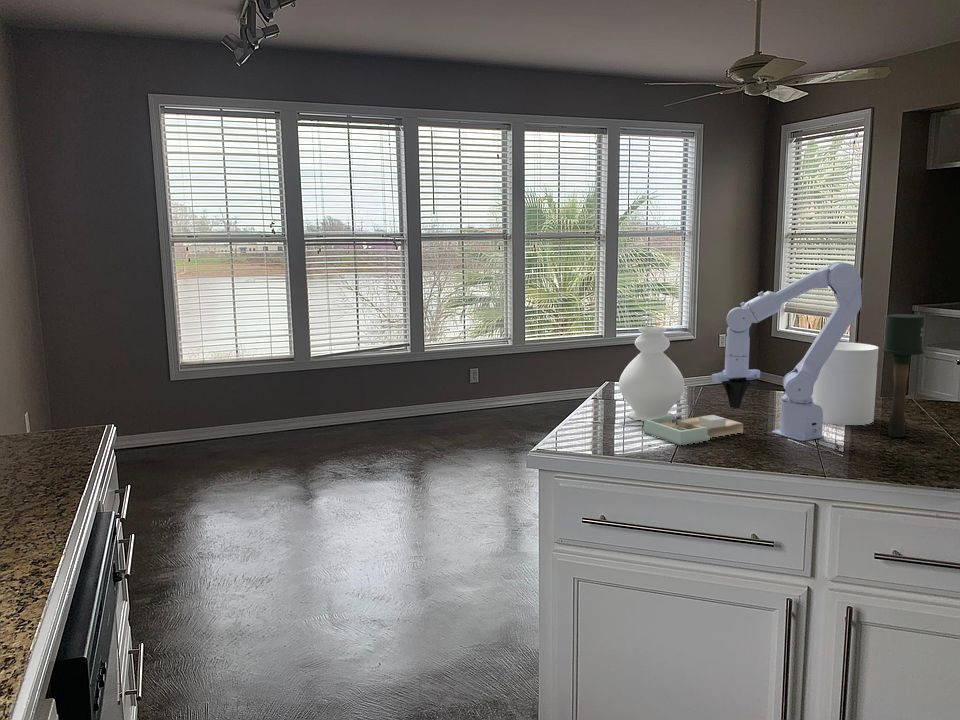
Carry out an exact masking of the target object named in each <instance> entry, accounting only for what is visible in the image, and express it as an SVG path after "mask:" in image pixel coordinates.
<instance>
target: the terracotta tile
mask: <svg viewBox="0 0 960 720" xmlns="http://www.w3.org/2000/svg"><path fill="white" fill-rule="evenodd" d="M659 424H662V425H665V426H668V427H671V428H674V429H678V426H677V424H674V423H672V424H671V423H668V422H664V423H659Z"/></svg>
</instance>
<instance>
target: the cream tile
mask: <svg viewBox="0 0 960 720" xmlns="http://www.w3.org/2000/svg"><path fill="white" fill-rule="evenodd" d="M698 417H699V425H702V426H706V427H709V428H717V427H723V426H725V425H726V419H727V418H725V417H721V416H718V415H716V414H709V415H702V417H701V416H698Z"/></svg>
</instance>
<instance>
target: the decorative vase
mask: <svg viewBox="0 0 960 720" xmlns="http://www.w3.org/2000/svg"><path fill="white" fill-rule="evenodd" d="M667 330H668V328H666V327H664V326H640V327H638V332H639V333H641V334H640V335H639V336H637V338H635V340H634V346H635V347H636V349H638V351H640V352H639V353H638V354H637V355H636V356H635V357H634V358H633V359H632V360H631V361H629V363H628V364H627V366H626V367H625V368H624V370H623V371H622V373H621V375H620V377H619V381H618V388H619V393H620V394H621V396H622V398H623V399H624V400H625V402H626V403H627V404H628V405H629V406H630V407H631V409H632V411H630V412H628V413H627V417H628V416H629V417H630V418H629V417H628V418H629V419H631V418H633V419H637V420H641V421H640V422H643V421H644V420H645V419H652V418H658V417H665V416H672V420H674V418H675V415H674V414H673V413H672V412H670V410H671V409H672V408H673V407H674V406H675V405H676V403H677V402H678V401H679V399H681V397H682V396H683V394H684V392H685V380H684V377H683V375H682V373H681V371H680V369H679V368H678V367H677V365H676V364H675V363H674V361H672V360H671V358H670V357H668V356H667V354H666V353H664V352H665V351H666V350H667V349H668V348H669V347H670V345H671V343H670V340H669V338H668V337H667V336H666V335H665V334H664V333H666V332H667ZM633 419H632V420H633ZM637 420H636V421H637Z"/></svg>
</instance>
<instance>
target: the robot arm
mask: <svg viewBox="0 0 960 720" xmlns="http://www.w3.org/2000/svg"><path fill="white" fill-rule="evenodd" d="M862 281H863V280H862V277H861V276H860V273H859V271H858V269H857V268H856V267H855V266H854V265H852V264H851V263H846V262H842V261H837V262H836V261H835V262H833V263H831V264H829V265H828V266H823V267H821V268H818V269H816V270H813V271H812V272H810V273H808V274H806V275H804V276H802V277H801V278H799V279H798V280H795V281H794V282H792V283H790V284H788V285H787V286H785V287H783V288H781V289H780V290H778V291H777V292H776V291H775V292H774V291H771V290H767V291H765V292H764V291H762V290H761V291H760V292H758V293H757V295H758V296H756V297H754V298H752V299H750V300H748V301H747V302H744V301H742V302H740V304H739V305H740V306H741V307H740V306H739V307H734V308H732V309H730V310H729V312H728V313H727V315H726V317H725V320H726V325H727V329H726V336H725V351H724V352H725V354H724V355H725V357H724V369H722V371H721V372H717V373H712V374H711V383H717V384H719V383H721V384H722V386H723V388H724V390H725V392H726V395H727V398H728V399H727V400H728V402H729V403H728V404H729V407H730V408H732V409H740V407H741V404H742V401H743V398H744V396H745V393H746V392H747V389H749V387H750V386H751V380H750V379H753V378H754V379H755V378H756V379H758V378H759V379H760V378H761V370H760V369H755V368H753V369H749V368H750V367H749V366H750V365H749V361H750V344H751V343H750V341H751V340H750V339H751V338H750V337H751V336H750V328H751V327H752V324H757V323H760V322H761V321H763V320H765V319H767V318H768V317H770V316H773V315H775V314H776V313H778V312H780V311H781V309H782V305H783V304H784V303H787V302H789V301H790V300H793V299H795V298H797V297H799V296H801V295H803V294H804V293H805V294H806V293H807V292H809V291H811V290H815V289H829V288H830V290H831V291H832V292H833V295H834V299H835V301H836V306H835V307H834V308H833V311H832V312H831V314H830V315H829V317H828V318H827V320H826V321H825V323H824V325H823V327H821V329H820V331H819V333H818V334H817V336H815V339H814V341H813V342H812V343H811V345H810V347H809V348H808V350H807V351H806V353H805V355H804V356H803V357H802V359H801V360H800V361H798V363H797V364H796V365H795V367H794V368H793V370H791V371H789V372H788V373H786V374H785V375H784V377H783V379H782V386H783V387H782V388H783V389H784V390H785V393H784V394H783V395H782V396H781V397H780V399H781V402H780V419H779V420H780V421H779V429H776V430H771V433H773V434H775V435H779V436H782V437H786V438H789V439H792V440H796V441H800V442H805V441H806V442H807V441H811V440H816V439H821V438H824V437H825V435H824V434H823V424H824V423H823V411H822V408H821V407H820V406H819V405H816V404H814V402H813V399H812V397H811V396H812V394H813V388H814V384H815V382H816V380H817V378H818V375H819V372H820V370H821V368H822V367H823V365H824V364H825V362H826V361H827V359H828V358H829V356H830V355H831V353H832V351H833V350H834V348H835V347H836V345H837V344H838V342H841V339H842V338H843V336H844V335H845V333H846V332H847V330H848V329H849V327H850V326H851V324H852V322H853V321H854V319H855V318H856V316H857V314H858V313H859V312H860V310H861V308H862V305H863V304H862V303H863V302H862Z"/></svg>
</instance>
